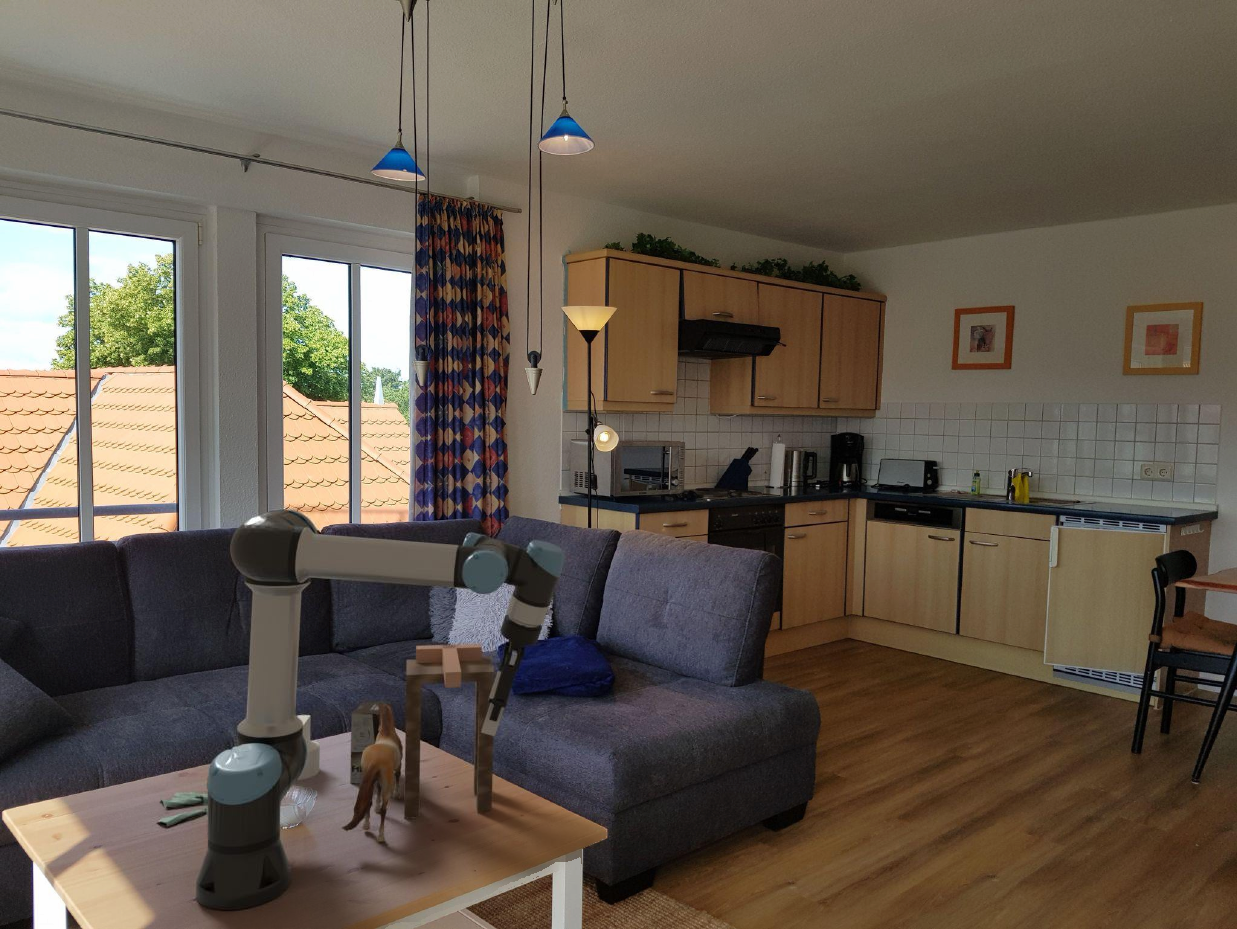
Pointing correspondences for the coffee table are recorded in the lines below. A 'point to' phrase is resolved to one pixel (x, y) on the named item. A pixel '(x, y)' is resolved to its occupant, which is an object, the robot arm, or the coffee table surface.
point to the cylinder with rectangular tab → (309, 751)
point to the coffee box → (362, 735)
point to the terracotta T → (449, 659)
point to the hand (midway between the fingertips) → (491, 717)
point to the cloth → (182, 802)
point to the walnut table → (483, 742)
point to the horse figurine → (379, 772)
